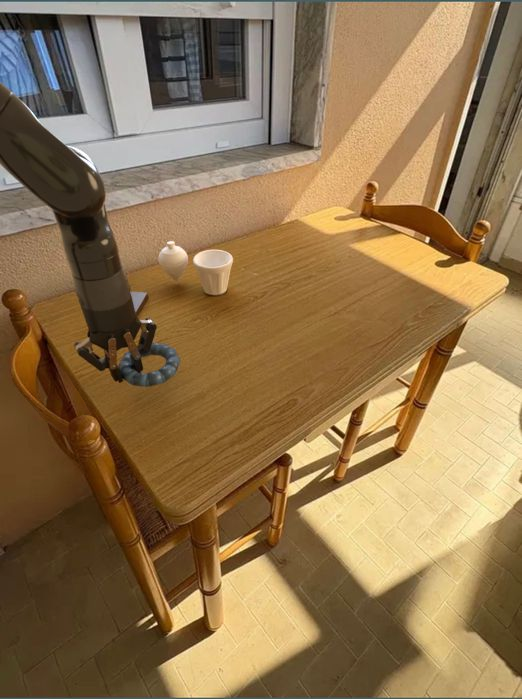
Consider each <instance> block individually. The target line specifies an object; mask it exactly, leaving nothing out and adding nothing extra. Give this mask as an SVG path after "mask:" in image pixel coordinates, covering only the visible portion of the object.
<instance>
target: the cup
mask: <svg viewBox="0 0 522 699" xmlns="http://www.w3.org/2000/svg"><path fill="white" fill-rule="evenodd" d="M192 262H193V266H194V269H195V270H196V273H197V276H198V279H199V281H200V283H201V284H200V285H201V287H202V289H203V292H204V293H205V294H206V295H208V296H211V297H213V296H214V297H215V296H216V297H218V296H221V295H224V294H225V293H226V292H227V290H228V285H229V280H230V274H231V269H232V266H233V263H234V258H233V256H232V254H231V253H230V252H228V251H225V250H222V249H207V250H206V249H205V250H203V251H200V252H197V253H196V254H195V255H194V257H193V259H192Z"/></svg>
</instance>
